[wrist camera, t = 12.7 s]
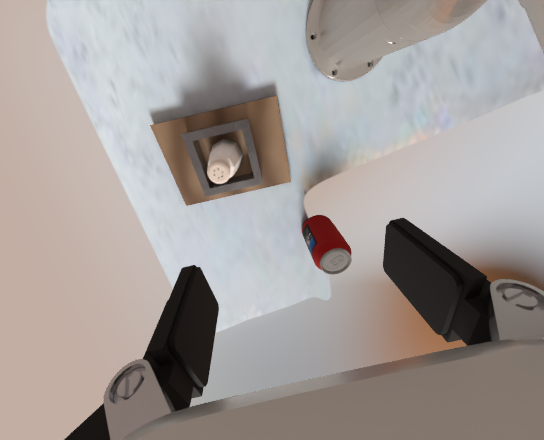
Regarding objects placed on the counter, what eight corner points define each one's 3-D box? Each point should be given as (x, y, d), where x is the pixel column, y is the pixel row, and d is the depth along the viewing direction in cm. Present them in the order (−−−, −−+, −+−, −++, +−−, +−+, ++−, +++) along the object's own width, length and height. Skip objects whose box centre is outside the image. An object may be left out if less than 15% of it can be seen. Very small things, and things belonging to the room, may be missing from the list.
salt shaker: (204, 158, 35) (187, 177, 25) (222, 131, 33) (211, 140, 24) (231, 177, 37) (224, 201, 27) (249, 152, 35) (249, 169, 26)
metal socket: (247, 117, 33) (247, 118, 30) (262, 177, 38) (263, 183, 34) (187, 131, 33) (180, 134, 30) (208, 189, 38) (205, 196, 35)
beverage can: (294, 226, 45) (308, 262, 34) (320, 207, 43) (343, 238, 33) (312, 244, 48) (329, 283, 37) (336, 227, 46) (362, 262, 36)
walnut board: (275, 96, 33) (276, 95, 32) (289, 179, 40) (290, 181, 38) (154, 124, 33) (150, 125, 32) (188, 202, 40) (186, 205, 39)
